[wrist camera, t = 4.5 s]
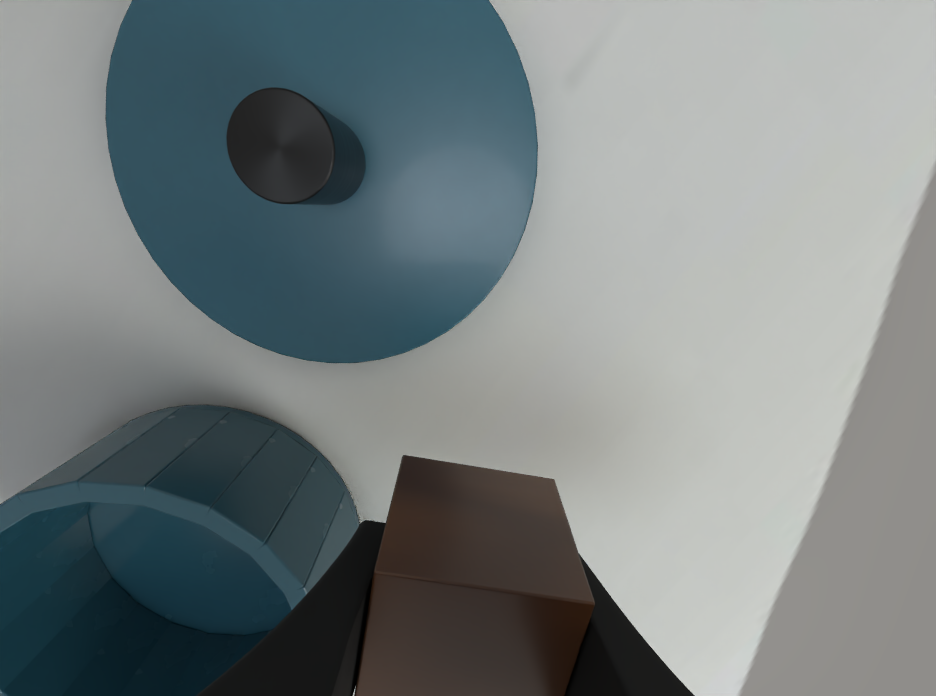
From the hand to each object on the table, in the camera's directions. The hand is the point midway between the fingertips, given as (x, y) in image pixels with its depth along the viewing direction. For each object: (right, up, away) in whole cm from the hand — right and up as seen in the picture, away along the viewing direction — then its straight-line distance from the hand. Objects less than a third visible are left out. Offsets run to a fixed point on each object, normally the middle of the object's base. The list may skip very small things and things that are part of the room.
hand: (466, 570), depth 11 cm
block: (0, 0, +1) cm, 1 cm away
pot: (-10, -2, +9) cm, 14 cm away
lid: (-4, +11, +4) cm, 13 cm away
